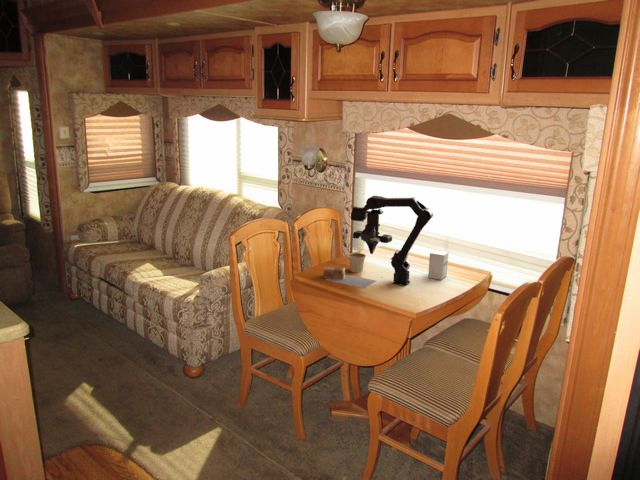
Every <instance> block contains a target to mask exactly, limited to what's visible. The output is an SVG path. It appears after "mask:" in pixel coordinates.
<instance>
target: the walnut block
mask: <svg viewBox="0 0 640 480" xmlns="http://www.w3.org/2000/svg"><path fill="white" fill-rule="evenodd" d="M345 274H346V267H339V266H338V267H336V266H324V268H323V274H322V275H323V276H322V277H323V279H327V278H330V279H343V280H344V278H345Z"/></svg>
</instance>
